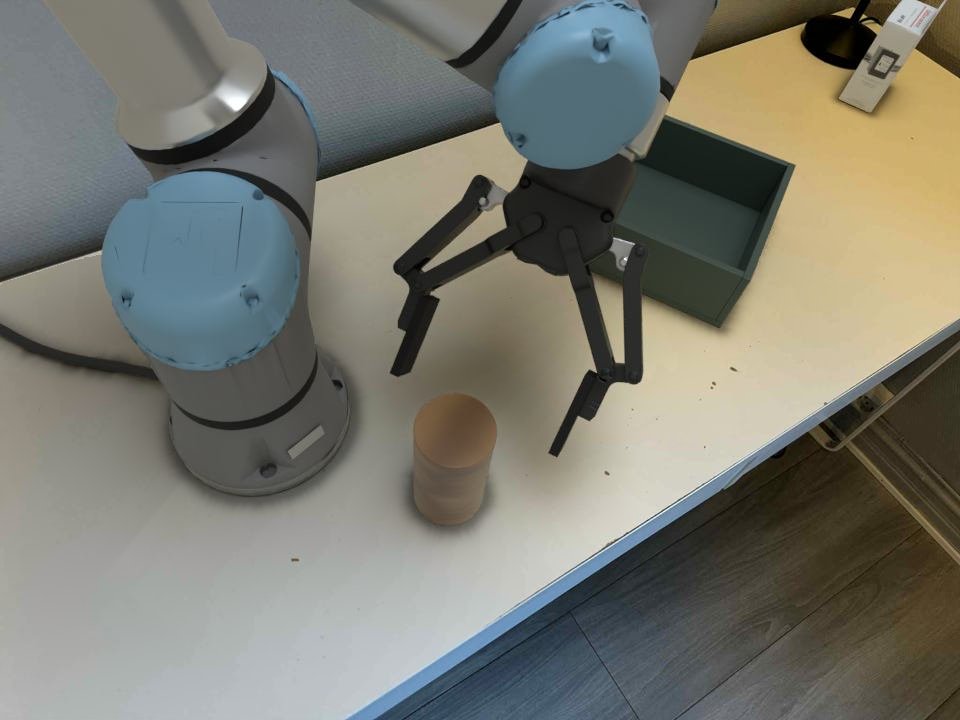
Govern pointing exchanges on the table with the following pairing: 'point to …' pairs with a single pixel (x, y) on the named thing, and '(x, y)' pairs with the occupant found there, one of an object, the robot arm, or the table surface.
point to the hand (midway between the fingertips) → (475, 411)
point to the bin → (699, 218)
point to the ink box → (888, 53)
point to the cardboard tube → (452, 457)
